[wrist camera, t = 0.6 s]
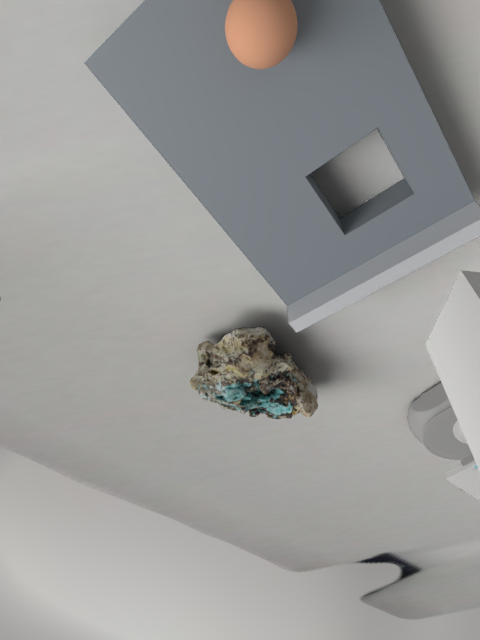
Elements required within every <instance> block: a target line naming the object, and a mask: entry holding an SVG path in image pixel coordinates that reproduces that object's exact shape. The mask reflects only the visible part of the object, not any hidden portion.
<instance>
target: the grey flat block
mask: <svg viewBox="0 0 480 640" xmlns="http://www.w3.org/2000/svg"><path fill="white" fill-rule="evenodd" d="M232 1H233V0H145V1H144V2H143V3H142V4H141V5H140V6H139V7H138V8H137V9H136V10H135V11H134V12H133V13H132V14H131V15H130V16H129V17H128V19H127V20H126V21H125V22H124V23H123V24H122V25H121V26H120V27H119V28H118V29H117V30H116V31H115V32H114V33H113V34H112V35H111V36H110V37H109V38H108V39H107V40H106V41H105V42H104V43H103V44H102V45H101V46H100V47H99V48H98V49H97V50H96V51H95V52H94V54H93V55H92V56H91V57H90V58H89V59H88V60H87V61H86V62H85V64H86V66H87V67H88V68H89V69H90V70H91V72H92V73H93V74H94V75H95V76H96V78H97V79H98V80H99V81H100V82H101V84H102V85H103V86H104V87H105V88H106V90H107V91H108V92H109V93H110V94H111V96H112V97H113V98H114V99H115V100H116V102H117V103H118V104H119V105H120V106H121V108H122V109H123V110H124V111H125V112H126V114H127V115H128V116H129V117H130V118H131V120H132V121H133V122H134V123H135V124H136V126H137V127H138V128H139V129H140V130H141V131H142V133H143V134H144V135H145V136H146V137H147V139H148V140H149V141H150V142H151V143H152V145H153V146H154V147H155V148H156V149H157V151H158V152H159V153H160V154H161V155H162V157H163V158H164V159H165V160H166V161H167V163H168V164H169V165H170V166H171V167H172V169H173V170H174V171H175V172H176V173H177V175H178V176H179V177H180V178H181V179H182V181H183V182H184V183H185V184H186V185H187V187H188V188H189V189H190V190H191V191H192V193H193V194H194V195H195V196H196V197H197V198H198V200H199V201H200V202H201V203H202V204H203V206H204V207H205V208H206V209H207V210H208V212H209V213H210V214H211V215H212V216H213V218H214V219H215V220H216V221H217V222H218V224H219V225H220V226H221V227H222V228H223V230H224V231H225V232H226V233H227V234H228V236H229V237H230V238H231V239H232V240H233V242H234V243H235V244H236V245H237V246H238V248H239V249H240V250H241V251H242V252H243V254H244V255H245V256H246V257H247V258H248V260H249V261H250V262H251V263H252V264H253V265H254V267H255V268H256V269H257V270H258V271H259V273H260V274H261V275H262V276H263V277H264V279H265V280H266V281H267V282H268V283H269V285H270V286H271V287H272V288H273V289H274V291H275V292H276V293H277V294H278V295H279V297H280V298H281V299H282V300H283V301H284V303H285V304H286V305H287V306H288V323H289V325H290V326H291V327H292V328H293V329H294V330H295V332H296V333H297V332H299V331H301V330H303V329H305V328H307V327H309V326H310V325H312V324H314V323H316V322H318V321H320V320H322V319H324V318H326V317H327V316H329V315H331V314H333V313H335V312H337V311H339V310H341V309H343V308H345V307H346V306H348V305H350V304H352V303H354V302H356V301H358V300H360V299H362V298H363V297H365V296H367V295H369V294H371V293H373V292H375V291H377V290H379V289H381V288H382V287H384V286H386V285H388V284H390V283H392V282H394V281H396V280H398V279H399V278H401V277H403V276H405V275H407V274H409V273H411V272H413V271H415V270H416V269H418V268H420V267H422V266H424V265H426V264H428V263H430V262H432V261H434V260H435V259H437V258H439V257H441V256H443V255H445V254H447V253H449V252H451V251H452V250H454V249H456V248H458V247H460V246H462V245H464V244H466V243H468V242H469V241H471V240H473V239H475V238H477V237H479V236H480V206H479V205H478V204H477V203H476V201H475V200H474V198H473V196H472V194H471V191H470V189H469V187H468V185H467V183H466V181H465V179H464V177H463V175H462V173H461V170H460V168H459V166H458V164H457V162H456V160H455V158H454V156H453V154H452V152H451V149H450V147H449V145H448V143H447V141H446V139H445V137H444V135H443V133H442V131H441V129H440V126H439V124H438V122H437V120H436V118H435V116H434V114H433V112H432V110H431V108H430V105H429V103H428V101H427V99H426V97H425V95H424V93H423V91H422V89H421V87H420V84H419V82H418V80H417V78H416V76H415V74H414V72H413V70H412V68H411V66H410V63H409V61H408V59H407V57H406V55H405V53H404V51H403V49H402V47H401V45H400V43H399V40H398V38H397V36H396V34H395V32H394V30H393V28H392V26H391V24H390V22H389V19H388V17H387V15H386V13H385V11H384V9H383V7H382V5H381V3H380V1H379V0H291V1H292V3H293V5H294V8H295V11H296V15H297V22H298V25H297V35H296V39H295V42H294V45H293V47H292V49H291V51H290V52H289V54H288V55H287V56H286V58H285V59H283V60H282V61H281V62H280V63H279V64H277V65H275V66H273V67H270V68H267V69H254V68H250V67H248V66H246V65H244V64H242V63H241V62H240V61H239V60H238V59H237V58H236V57H235V56H234V55H233V53H232V52H231V50H230V48H229V46H228V43H227V40H226V34H225V20H226V15H227V11H228V9H229V6H230V4H231V2H232ZM376 128H377V129H378V131H379V133H380V135H381V137H382V139H383V140H384V142H385V144H386V146H387V148H388V149H389V151H390V153H391V155H392V157H393V158H394V160H395V162H396V164H397V166H398V167H399V169H400V171H401V173H402V175H403V177H404V178H405V179H403V180H401V181H400V182H398V183H397V184H395V185H393V186H392V187H390V188H388V189H387V190H385V191H384V192H382V193H380V194H379V195H377V196H375V197H374V198H372V199H371V200H369V201H367V202H366V203H364V204H363V205H361V206H359V207H358V208H356V209H354V210H353V211H351V212H350V213H348V214H346V215H345V216H343V217H342V218H339V216H338V215H337V213H336V212H335V210H334V209H333V207H332V206H331V204H330V203H329V201H328V200H327V198H326V197H325V195H324V194H323V192H322V191H321V189H320V188H319V186H318V185H317V184H316V182H315V181H314V179H313V178H312V176H311V175H310V173H312V172H313V171H315V170H316V169H318V168H319V167H320V166H322V165H323V164H325V163H326V162H328V161H329V160H331V159H332V158H334V157H335V156H337V155H338V154H339V153H341V152H342V151H344V150H345V149H347V148H348V147H350V146H351V145H353V144H354V143H356V142H357V141H359V140H360V139H361V138H363V137H364V136H366V135H367V134H369V133H370V132H372V131H373V130H375V129H376Z"/></svg>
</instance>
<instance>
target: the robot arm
mask: <svg viewBox="0 0 480 640" xmlns="http://www.w3.org/2000/svg"><path fill="white" fill-rule="evenodd" d="M0 301H1V297H0ZM426 347H427V350H428V352H429V354H430V357H431V359H432V361H433V364H434V366H435V368H436V371H437V373H438V375H439V378H440V380H441V382H442V385H443V387H444V389H445V392H446V394H447V396H448V399H449V401H450V403H451V406H452V408H453V410H454V413H455V415H456V417H457V420H458V422H459V424H460V427H461V429H462V431H463V434H464V436H465V438H466V441H467V443H468V445H469V448H470V450H471V452H472V455H473V457H474V459H475V462H476V464H477V466H478V469H479V471H480V273H479V272H470V271H462V270H461V272H460V274H459V276H458V278H457V280H456V282H455V284H454V286H453V288H452V291H451V293H450V295H449V297H448V299H447V301H446V303H445V305H444V307H443V309H442V312H441V314H440V316H439V318H438V320H437V322H436V324H435V326H434V328H433V330H432V333H431V335H430V337H429V339H428V341H427V343H426Z"/></svg>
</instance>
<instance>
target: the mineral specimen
mask: <svg viewBox="0 0 480 640" xmlns="http://www.w3.org/2000/svg"><path fill="white" fill-rule="evenodd" d="M275 345H276V343H275V341H274V339H273V338H272V337H271V334H270V333H269V332H267V331H266V329H265V328H264V329H263V328H262V327H256V328H250V329H249V328H240V329H234V330H233V331H232V332H231V333H229V334H226V335H225V336H224V337H223V338H222V340H221V341H220V342H219V343H218V344H212V343H211V342H209V341H206V342H203V343H201V344H199V346H198V349H197V352H198V357H199V370H198V371H197V373H196V375H195V377H193V378H191V381H190V383H191V386H192V388H194V389H195V390H197V392H198V393H199V396H200V397H201V398H202V399H204V401H212V402H215V403H218V404H220V406H221V407H222V408H223V409H231V410H236V411H239V412H240V413H242V414H245V413H246V412H247V411H248V410H249V414H250V416H251V417H256V416H258V415H259V414H261V413H262V414H263V413H264V414H266V415H267V417H269V418H273V419H281V418H286V417H287V418H291V417H292V416H293V415H295V414H298V413H299V412H300V413H302V414H303V415H304V416H306V417H311V416H312V415H313V413H314V412H315V411H316V410H317V407H318V404H317V391H316V387H315V386H314V385H313V384H312V382H311V378H308V377H307V376H305V374H304V373H303V371H302V369H298V367H297V366H296V365H295V363H294V361H293V360H291V354H290V353H282V354H281V355H280V356H279V355H277V354H276V350H274V347H275Z"/></svg>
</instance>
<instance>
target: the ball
mask: <svg viewBox="0 0 480 640" xmlns="http://www.w3.org/2000/svg"><path fill="white" fill-rule="evenodd" d="M297 25H298V22H297V15H296V11H295V8H294V5H293V3H292V1H291V0H233V1H232V2H231V4H230V6H229V9H228V11H227V15H226V20H225V34H226V40H227V43H228V46H229V48H230V50H231V52H232V53H233V55H234V56H235V57H236V58H237V59H238V60H239V61H240V62H241V63H242V64H244V65H246V66H248V67H250V68H254V69H267V68H270V67H273V66H275V65H277V64H279V63H280V62H281V61H282V60H283V59H285V58H286V56H287V55H288V54H289V52H290V51H291V49H292V47H293V45H294V42H295V39H296V35H297Z"/></svg>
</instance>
